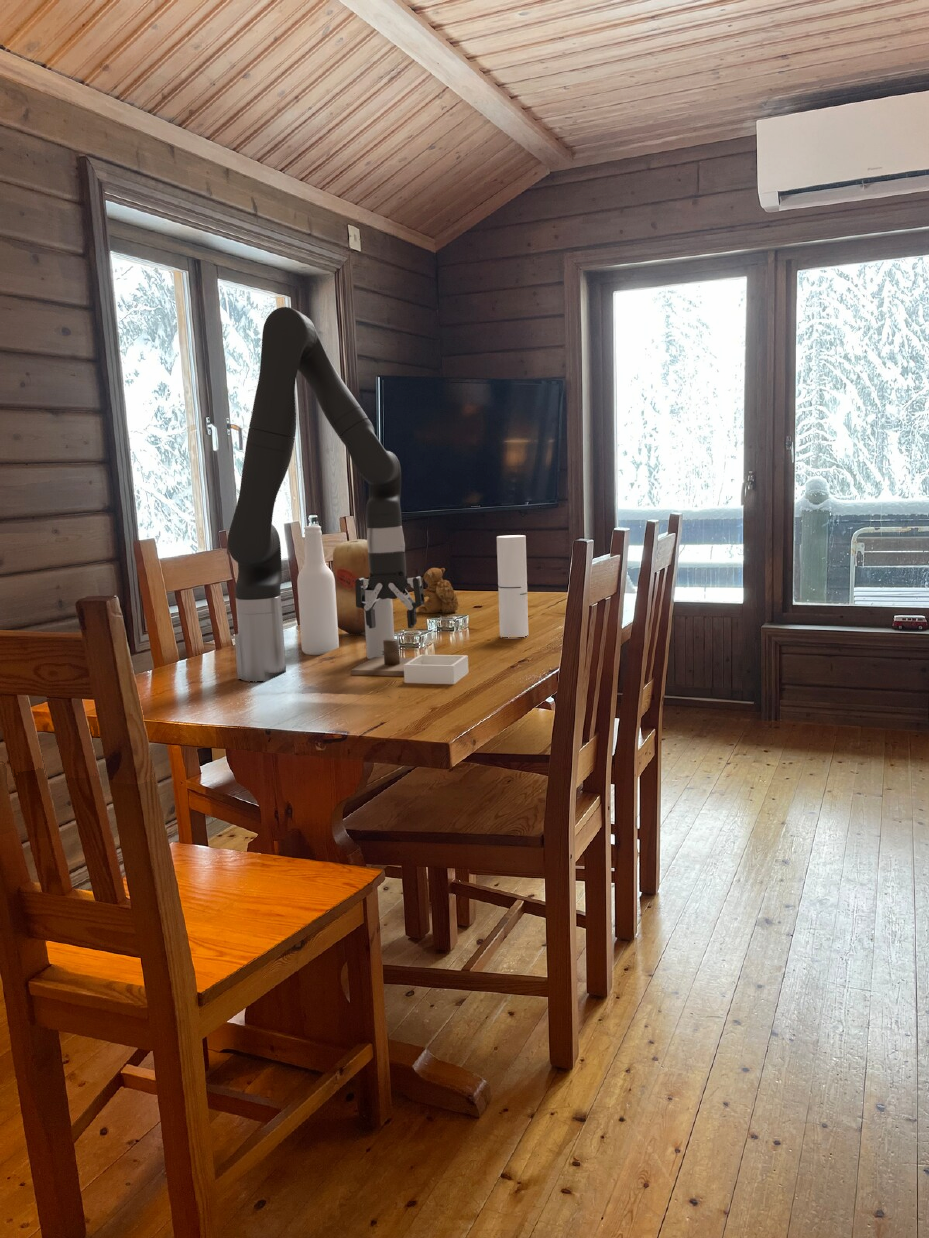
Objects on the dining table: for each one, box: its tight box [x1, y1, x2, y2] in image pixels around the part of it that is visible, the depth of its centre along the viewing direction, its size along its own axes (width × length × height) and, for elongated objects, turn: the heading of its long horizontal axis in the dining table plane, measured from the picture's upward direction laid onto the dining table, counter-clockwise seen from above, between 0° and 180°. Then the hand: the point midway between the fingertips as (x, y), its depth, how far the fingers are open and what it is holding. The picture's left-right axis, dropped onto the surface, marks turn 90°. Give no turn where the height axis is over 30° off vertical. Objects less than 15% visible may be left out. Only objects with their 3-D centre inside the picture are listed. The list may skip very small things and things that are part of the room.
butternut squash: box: [332, 538, 370, 637], centre depth 240 cm, size 14×13×25 cm
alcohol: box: [296, 525, 340, 656], centre depth 219 cm, size 9×9×30 cm
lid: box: [350, 638, 415, 677], centre depth 192 cm, size 13×13×6 cm
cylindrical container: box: [496, 534, 529, 639], centre depth 231 cm, size 7×7×25 cm
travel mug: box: [364, 577, 395, 660], centre depth 204 cm, size 6×7×20 cm
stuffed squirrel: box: [417, 567, 460, 614], centre depth 277 cm, size 10×14×13 cm
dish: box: [403, 654, 469, 685], centre depth 182 cm, size 10×10×5 cm
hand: (391, 627), depth 191 cm, fingers open, 8 cm apart
